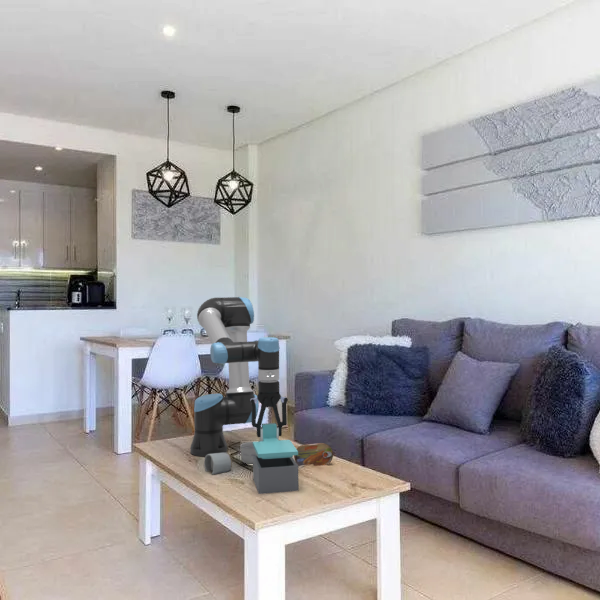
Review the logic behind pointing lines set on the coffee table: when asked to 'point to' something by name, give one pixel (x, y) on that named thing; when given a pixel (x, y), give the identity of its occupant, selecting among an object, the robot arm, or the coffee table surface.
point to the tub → (275, 475)
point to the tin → (314, 454)
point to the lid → (273, 444)
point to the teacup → (248, 452)
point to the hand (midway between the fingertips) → (269, 445)
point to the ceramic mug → (218, 462)
